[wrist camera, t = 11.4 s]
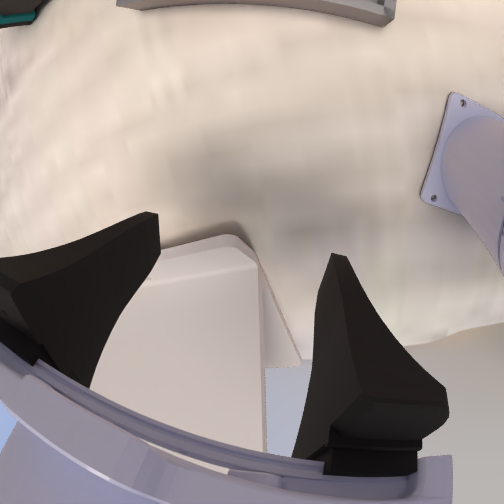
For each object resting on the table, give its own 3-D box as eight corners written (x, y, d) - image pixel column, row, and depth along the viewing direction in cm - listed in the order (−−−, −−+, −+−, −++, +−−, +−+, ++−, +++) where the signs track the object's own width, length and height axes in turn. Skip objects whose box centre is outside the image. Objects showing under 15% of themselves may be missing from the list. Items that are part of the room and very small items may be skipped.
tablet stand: (303, 360, 30) (274, 508, 17) (141, 360, 40) (93, 452, 26) (240, 215, 22) (125, 436, 8) (67, 267, 32) (-14, 363, 18)
